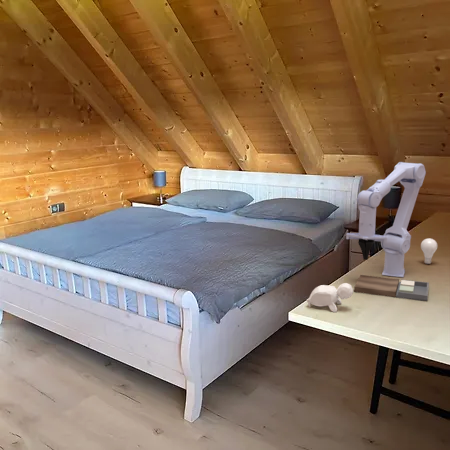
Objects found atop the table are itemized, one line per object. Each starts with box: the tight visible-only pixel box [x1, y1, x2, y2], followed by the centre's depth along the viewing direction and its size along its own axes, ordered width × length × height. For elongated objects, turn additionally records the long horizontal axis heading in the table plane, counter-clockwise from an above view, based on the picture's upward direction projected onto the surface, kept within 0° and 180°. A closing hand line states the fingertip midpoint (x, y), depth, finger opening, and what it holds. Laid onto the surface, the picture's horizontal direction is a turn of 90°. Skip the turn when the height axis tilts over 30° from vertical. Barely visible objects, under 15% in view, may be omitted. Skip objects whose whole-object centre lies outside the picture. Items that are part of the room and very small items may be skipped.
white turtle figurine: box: [306, 282, 354, 313], centre depth 158 cm, size 9×8×15 cm
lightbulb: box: [420, 237, 438, 265], centre depth 199 cm, size 6×6×11 cm
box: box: [395, 279, 430, 302], centre depth 169 cm, size 14×10×2 cm
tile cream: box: [400, 279, 416, 287], centre depth 172 cm, size 4×4×2 cm
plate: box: [353, 274, 400, 298], centre depth 174 cm, size 14×14×2 cm
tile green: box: [399, 285, 414, 293], centre depth 167 cm, size 4×4×2 cm
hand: (365, 259), depth 178 cm, fingers closed
